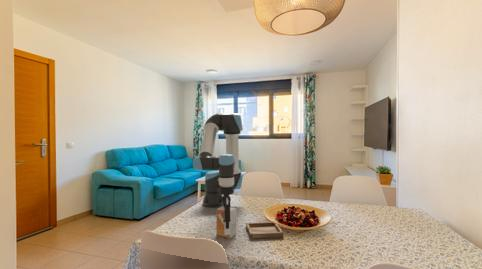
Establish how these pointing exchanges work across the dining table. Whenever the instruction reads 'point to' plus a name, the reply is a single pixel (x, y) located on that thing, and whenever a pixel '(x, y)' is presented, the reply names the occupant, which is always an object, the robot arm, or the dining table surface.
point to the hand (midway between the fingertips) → (226, 230)
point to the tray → (264, 230)
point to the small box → (221, 224)
